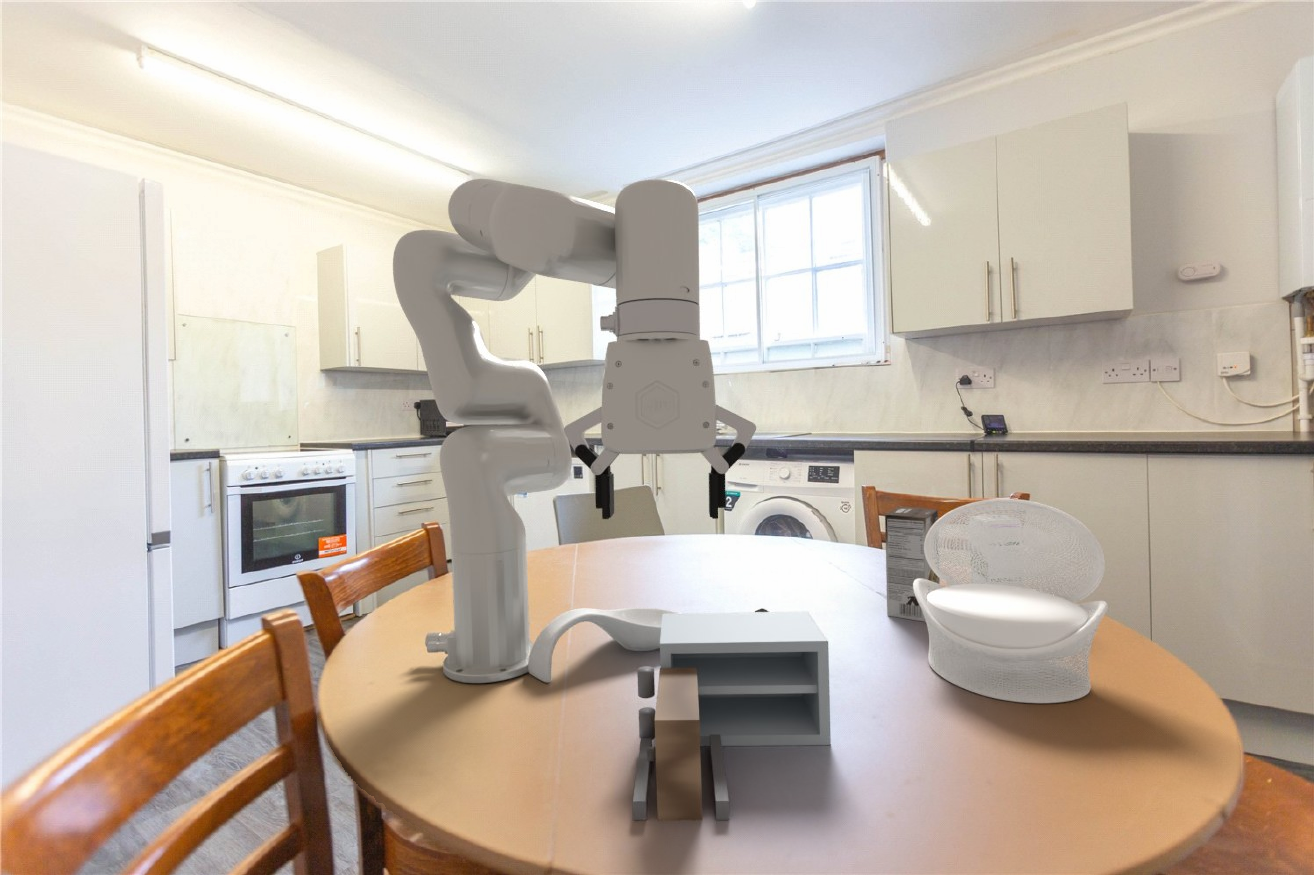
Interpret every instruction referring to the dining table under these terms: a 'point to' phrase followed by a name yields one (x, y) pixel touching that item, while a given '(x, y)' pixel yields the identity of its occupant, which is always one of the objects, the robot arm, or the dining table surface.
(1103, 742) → the dining table surface
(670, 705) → the door
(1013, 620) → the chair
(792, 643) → the cabinet
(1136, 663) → the dining table surface
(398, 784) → the dining table surface
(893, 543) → the coffee box
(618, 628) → the spoon rest
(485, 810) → the dining table surface
